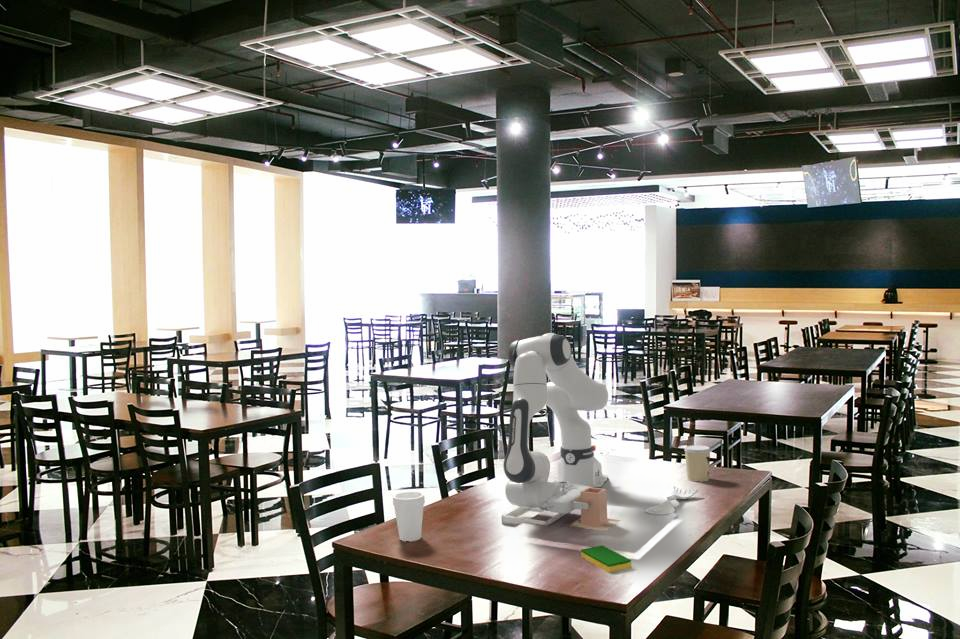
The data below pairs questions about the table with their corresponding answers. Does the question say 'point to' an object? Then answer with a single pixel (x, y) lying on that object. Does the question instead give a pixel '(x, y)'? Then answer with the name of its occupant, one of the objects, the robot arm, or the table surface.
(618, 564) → the dish sponge
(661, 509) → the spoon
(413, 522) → the foam cup
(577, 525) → the stand
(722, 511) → the table surface
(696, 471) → the coffee cup
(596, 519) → the sleeve
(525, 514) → the tray
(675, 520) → the table surface
